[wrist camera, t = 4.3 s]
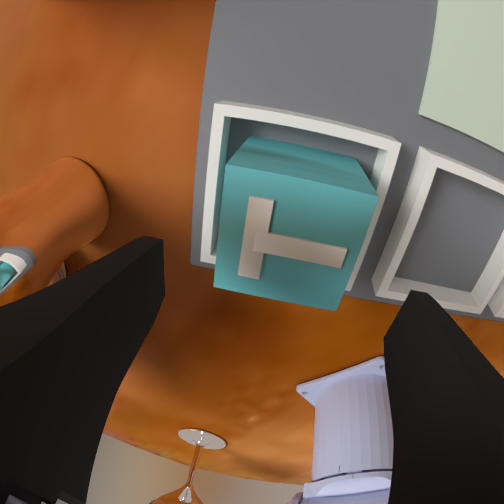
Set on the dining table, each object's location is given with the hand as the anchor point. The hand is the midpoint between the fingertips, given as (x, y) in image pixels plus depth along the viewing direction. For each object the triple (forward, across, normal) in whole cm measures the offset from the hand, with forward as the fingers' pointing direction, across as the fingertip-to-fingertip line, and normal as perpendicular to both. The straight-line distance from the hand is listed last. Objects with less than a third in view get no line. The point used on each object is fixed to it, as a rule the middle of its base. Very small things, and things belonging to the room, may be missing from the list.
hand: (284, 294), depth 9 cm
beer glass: (+9, +14, +3) cm, 17 cm away
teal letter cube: (+8, 0, 0) cm, 8 cm away
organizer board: (+8, -10, -5) cm, 14 cm away
